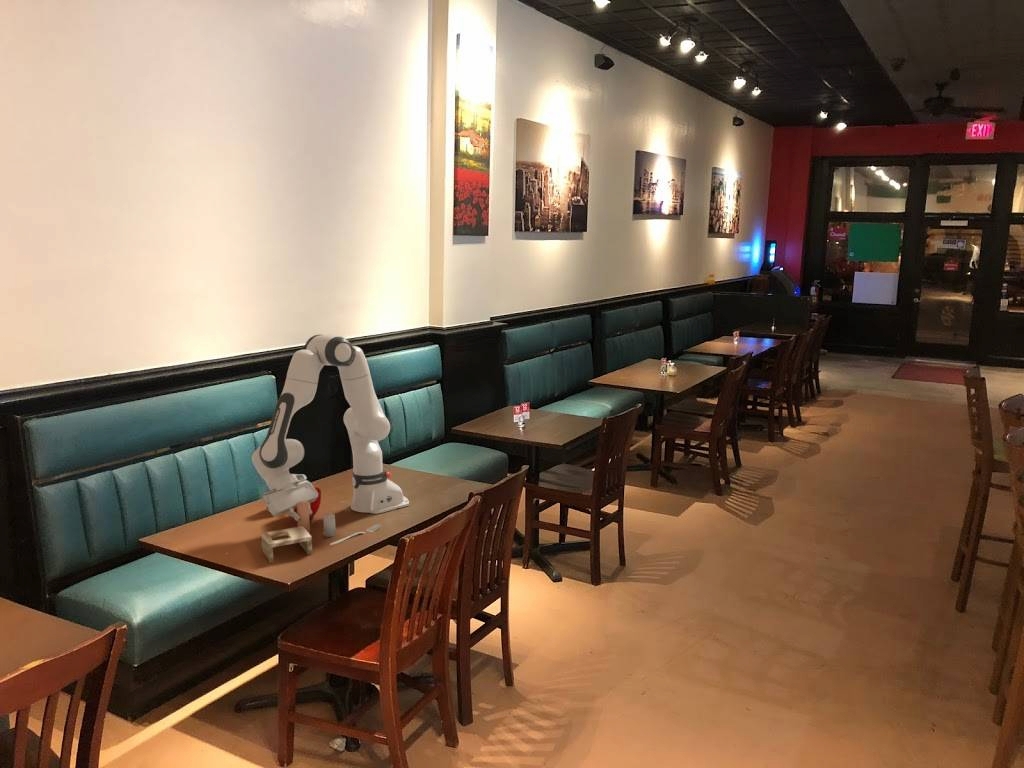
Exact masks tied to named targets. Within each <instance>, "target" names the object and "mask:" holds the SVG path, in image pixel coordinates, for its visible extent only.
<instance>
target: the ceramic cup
mask: <svg viewBox="0 0 1024 768" xmlns="http://www.w3.org/2000/svg"><path fill="white" fill-rule="evenodd" d="M314 488H315V489H316V491H317V492H318V498H317V499H316V500H315V501H313V502H311V503H310V509H311V511H312V514H311V515H309V520H311V519H313V518H314V516H315V515H316V514H317V512H319V508H320V506H321V501H322V490H321V488H319V487H317V486H314ZM294 512H295V513H297V508H296V509H294ZM312 517H313V518H312ZM310 518H311V519H310Z"/></svg>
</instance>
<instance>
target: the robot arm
mask: <svg viewBox="0 0 1024 768" xmlns="http://www.w3.org/2000/svg"><path fill="white" fill-rule="evenodd" d="M324 366H335V367H337V369H338V371H339V377H340V381H341V385H342V389H343V393H344V398H345V400H346V401H347V403H348V404H349V406H350V407H349V408H347V409H346V411H345V412H344V415H343V423H344V425H345V427H346V431H347V433H348V438H349V442H350V446H351V451H352V462H353V463H352V466H353V471H352V480H351V481H352V486H353V491H352V492H353V494H352V499H351V505H350V509H351V510H352V511H355V512H357V513H368V514H375V515H377V514H382V513H385V512H389V511H394V510H396V509H397V508H398V509H402V508H405V507H408V506H409V505H410V501H409V499H408V498H407V497H406V496H404V494H403V490H402V488H401V487H400V486H399V485H398V484H396V483H395V482H394V481H392V480H390V479H391V478H392V477H393V476H392V473H391V472H389V471H387V470H385V469H383V467H384V466H383V451H382V449H381V446H380V444H379V441H382V440H384V439H386V437H388V435H389V433H390V431H391V424H390V421H389V419H388V418H387V416H386V415H385V413H384V411H383V408H382V406H381V403H380V401H379V399H378V397H377V394H376V391H375V388H374V384H373V380H372V376H371V372H370V366H369V363H368V361H367V359H366V356H365V354H364V351H363V349H362V348H361V347H359V346H356V345H353V344H352V343H351V342H350V341H349V340H348V339H347V338H345V337H343V336H337V335H333V334H316V335H312V336H310V338H308V339H307V341H306V342H305V344H304V346H303V347H302V349H300V350H296V351H295V352H294V354H293V355H292V358H291V360H290V362H289V366H288V368H287V369H288V370H287V373H286V378H285V381H284V386H283V389H282V392H281V394H280V395H279V397H278V400H277V402H276V403H275V404H276V405H275V408H274V410H273V414H272V418H271V420H270V421H271V422H270V424H269V428H268V431H267V432H266V433H267V434H266V436H265V438H264V440H263V441H262V443H261V445H260V446H258V447H257V448H256V449H255V450H254V452H253V453H252V456H251V461H252V464H253V466H254V468H255V469H256V471H257V473H258V474H259V476H260V477H261V478H262V479H263V480H264V481H265V483H266V487H268V489H269V490H268V491H266V492H264V493H263V495H262V500H263V501H264V502H265V505H266V508H267V507H268V509H269V511H268V512H270V514H271V515H272V516H274V517H278V516H280V515H283V514H286V513H287V514H288V516H290V517H292V518H293V519H294V521H296V522H298V520H300V519H301V516H300V514H297V513H295V512H294V509H296V508H297V502H300V501H308V502H309V515H311V514H312V511H311V509H310V503H311V502H313V501H315V500H316V499H317V498H318V492H317V491H316V489H315V488H314V487H315V486H314V485H313V484H312V483H311V482H310V481H309V480H307V479H308V478H307V476H306V474H303V473H302V474H301V473H300V474H299V473H298V474H297V473H290V471H289V470H290V469H291V468H293V467H295V466H296V465H298V464H300V462H302V460H303V459H304V457H305V448H304V445H303V443H302V442H301V441H299V440H298V439H293V438H287V435H288V432H289V427H290V424H291V421H292V418H293V417H294V414H296V412H297V411H299V410H300V409H301V408H303V407H306V406H307V405H308V404H310V403H311V402H312V401H313V400H314V398H315V395H316V392H317V388H318V383H319V378H320V372H321V371H322V369H323V368H324ZM398 509H397V510H398Z"/></svg>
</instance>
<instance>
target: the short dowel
mask: <svg viewBox="0 0 1024 768" xmlns="http://www.w3.org/2000/svg"><path fill="white" fill-rule="evenodd" d="M335 517H336V515H335V514H333V513H327V514H324V515H323V517H322V518H323V536H324V537H326V538H331V537H335V536H337V533H336V518H335Z"/></svg>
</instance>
